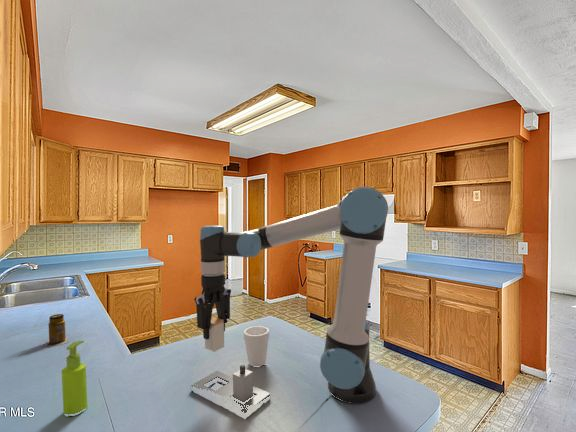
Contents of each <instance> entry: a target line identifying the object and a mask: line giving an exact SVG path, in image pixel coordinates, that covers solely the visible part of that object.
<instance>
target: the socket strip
mask: <svg viewBox="0 0 576 432" xmlns="http://www.w3.org/2000/svg"><path fill="white" fill-rule="evenodd" d="M217 377H218V378H220V379H222V380H224V381H226V382H228V383H227V384H226V385H224V386H223V387H221V388H219V389H218V390H216V391H215V390H213V389H211V388H209V387H206V386H204V384H206V383H208V382H210V381H212V380H213V379H215V378H217ZM195 384H196V385H195ZM197 385H198V386H197ZM191 386H192V387H193V386H194V387H196V388H198V389H200V388H201V389H202V390H203V389H206V390H207V391H208V390H210V391H211V392H212V391H213V392H214V393H215V394H217V393H218V395H221V396H228V397H231V396H233V376H230V375H228V374H226V373H224V372H221V371H219V370H216V371H214V372H212V373H210V374H208V375H207V376H205V377H204V378H202V379H200V380H198V381H196V382H195V383H193V384H191V385H190V387H191ZM253 394H254V395H256V396H254V397H253V398H252V399H250V400H249V401H248V402H246V403H245V404H244V405H245V407H244V405H243V404H241V403H239V402H238V404H240V406H241V405H242V406H243V408H244V409H242V410H241V411H242V412H243V411H244V413H246V412H247V410H248V409H247V408H246V405H249V406H250V405H254V406H255V405H256V404H258V403H260V402H261V401H263V400H264V399H266V398H267V397H269V396H270V397H271V393H270V392H268V391H265V390H264V389H261V388H259V387H256V386H254V385H253ZM228 400H229V398H228ZM230 400H232V399H231V398H230ZM234 401H235V400H234ZM236 403H237V401H236ZM247 407H248V406H247ZM241 408H242V407H241ZM245 408H246V409H247V410H246V409H245Z"/></svg>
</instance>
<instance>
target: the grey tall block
mask: <svg viewBox="0 0 576 432" xmlns="http://www.w3.org/2000/svg"><path fill="white" fill-rule="evenodd" d="M232 377H233V397H234V398H236V399H238V400H240V401H242V402H245V401H246V400H248V399H249V398H251V397H252V396H253V386H254V380H253V379H254V375H253V371H251V370H250V369H246V365H244V364H241V365H239V369H238V370H237V371H235V372H233V373H232Z"/></svg>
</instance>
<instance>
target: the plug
mask: <svg viewBox="0 0 576 432" xmlns="http://www.w3.org/2000/svg"><path fill="white" fill-rule="evenodd" d="M210 328H212V344H213V349H208V348H206V347H205V346H204V348H205V350H208V351H211V352H217V351H219V350H221V349H223V348H225V331H224V320H223V319H220V318H218V317H211V324H210Z"/></svg>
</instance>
